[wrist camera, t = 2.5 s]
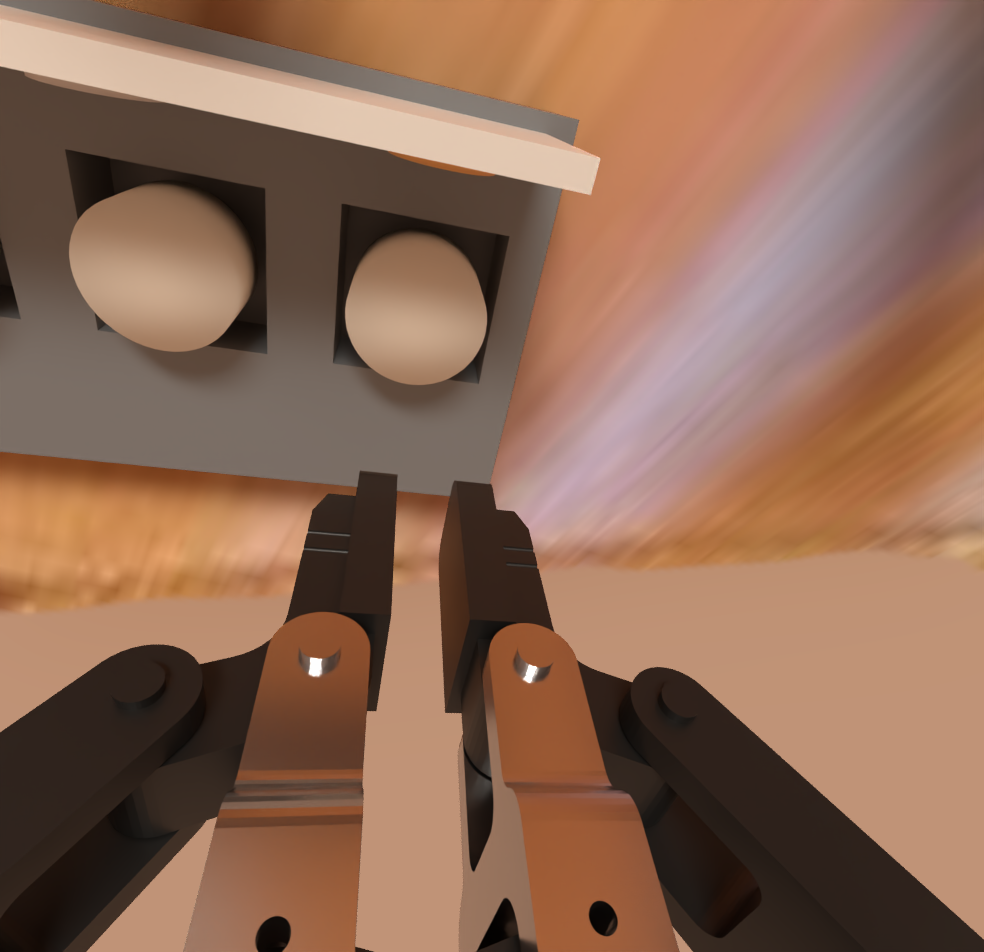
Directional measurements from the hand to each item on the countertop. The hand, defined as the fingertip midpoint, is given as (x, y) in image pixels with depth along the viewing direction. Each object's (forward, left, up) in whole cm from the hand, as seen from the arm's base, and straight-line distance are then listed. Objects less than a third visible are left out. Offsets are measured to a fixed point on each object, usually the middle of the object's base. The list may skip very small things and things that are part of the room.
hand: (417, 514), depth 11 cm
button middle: (+8, 0, -14) cm, 16 cm away
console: (+8, +1, -17) cm, 19 cm away
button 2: (0, 0, -14) cm, 14 cm away
